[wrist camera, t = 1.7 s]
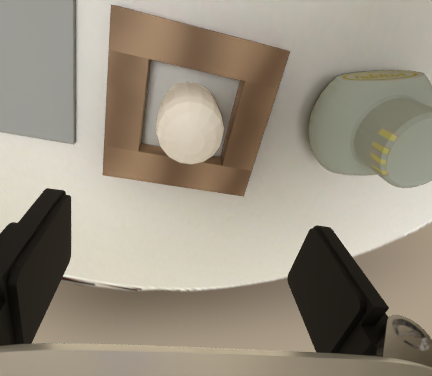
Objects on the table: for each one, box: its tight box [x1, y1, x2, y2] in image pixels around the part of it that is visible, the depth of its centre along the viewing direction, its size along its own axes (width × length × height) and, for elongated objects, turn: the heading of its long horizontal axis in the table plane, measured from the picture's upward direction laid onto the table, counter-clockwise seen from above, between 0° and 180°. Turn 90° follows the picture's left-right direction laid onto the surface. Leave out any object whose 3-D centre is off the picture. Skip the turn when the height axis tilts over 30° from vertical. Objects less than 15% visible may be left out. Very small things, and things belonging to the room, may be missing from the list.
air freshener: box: [309, 70, 432, 188], centre depth 25 cm, size 11×8×10 cm
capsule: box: [156, 82, 224, 164], centre depth 24 cm, size 5×5×8 cm
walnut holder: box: [103, 5, 290, 196], centre depth 26 cm, size 14×14×2 cm
